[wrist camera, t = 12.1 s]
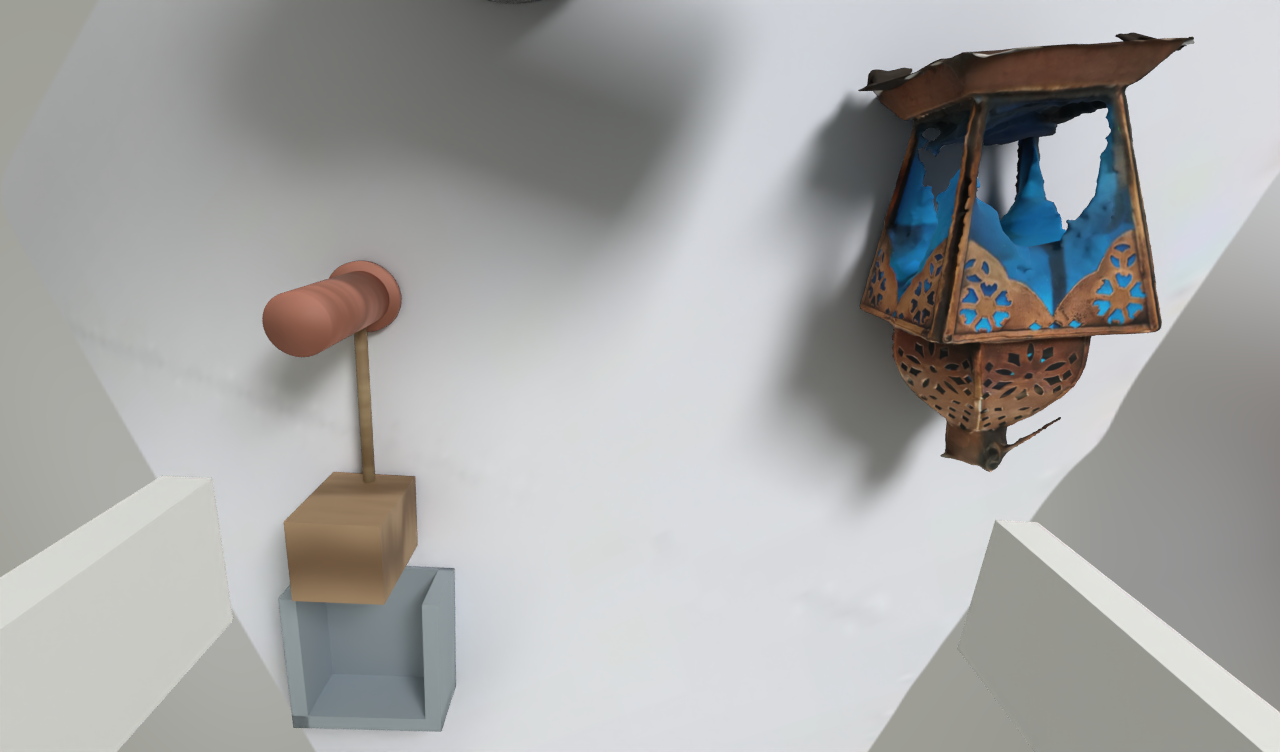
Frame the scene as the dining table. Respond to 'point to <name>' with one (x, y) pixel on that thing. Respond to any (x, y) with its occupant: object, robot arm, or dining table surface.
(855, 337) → the dining table surface
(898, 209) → the lantern
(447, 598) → the slate open-sided box
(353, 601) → the block and peg linkage
